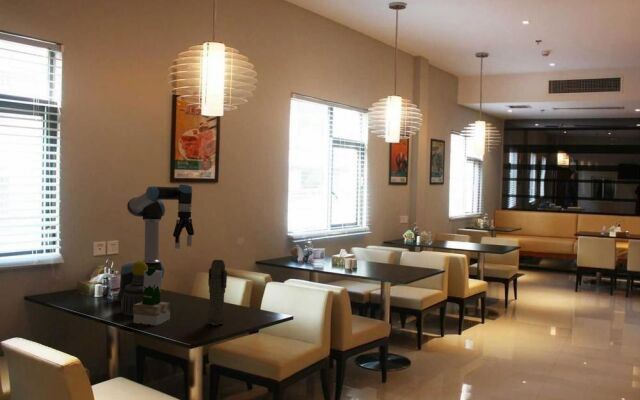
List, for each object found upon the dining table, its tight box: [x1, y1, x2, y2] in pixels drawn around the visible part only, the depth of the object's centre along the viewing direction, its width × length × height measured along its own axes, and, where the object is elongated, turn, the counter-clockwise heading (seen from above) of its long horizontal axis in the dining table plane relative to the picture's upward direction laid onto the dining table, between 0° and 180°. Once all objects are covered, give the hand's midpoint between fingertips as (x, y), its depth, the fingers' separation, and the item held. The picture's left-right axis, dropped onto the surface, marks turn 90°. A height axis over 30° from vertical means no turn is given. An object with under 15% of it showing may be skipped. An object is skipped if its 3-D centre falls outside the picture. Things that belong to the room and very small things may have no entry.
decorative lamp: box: [120, 260, 148, 317], centre depth 336 cm, size 19×19×30 cm
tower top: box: [133, 301, 171, 317], centre depth 319 cm, size 14×14×5 cm
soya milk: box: [142, 267, 163, 305], centre depth 319 cm, size 9×9×20 cm
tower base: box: [133, 311, 171, 326], centre depth 319 cm, size 14×14×5 cm
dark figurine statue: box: [207, 259, 228, 324], centre depth 319 cm, size 9×12×35 cm
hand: (183, 247), depth 339 cm, fingers open, 13 cm apart
